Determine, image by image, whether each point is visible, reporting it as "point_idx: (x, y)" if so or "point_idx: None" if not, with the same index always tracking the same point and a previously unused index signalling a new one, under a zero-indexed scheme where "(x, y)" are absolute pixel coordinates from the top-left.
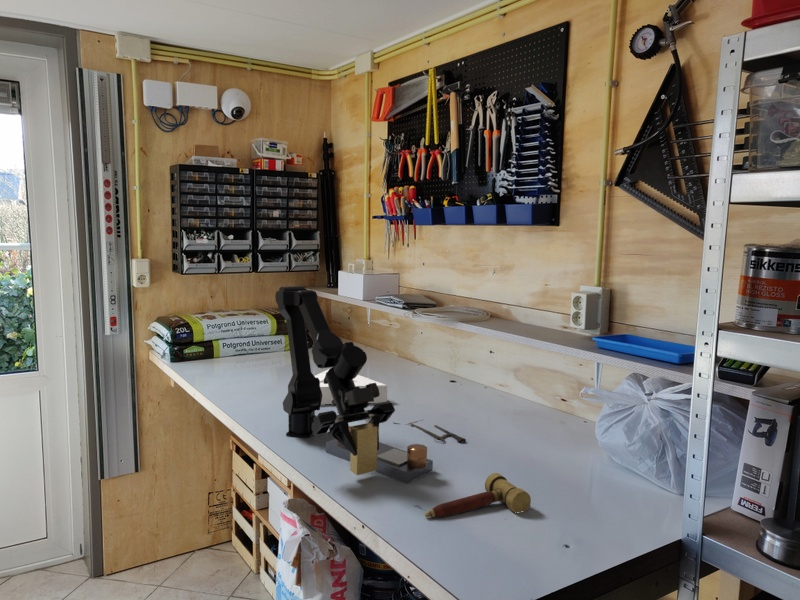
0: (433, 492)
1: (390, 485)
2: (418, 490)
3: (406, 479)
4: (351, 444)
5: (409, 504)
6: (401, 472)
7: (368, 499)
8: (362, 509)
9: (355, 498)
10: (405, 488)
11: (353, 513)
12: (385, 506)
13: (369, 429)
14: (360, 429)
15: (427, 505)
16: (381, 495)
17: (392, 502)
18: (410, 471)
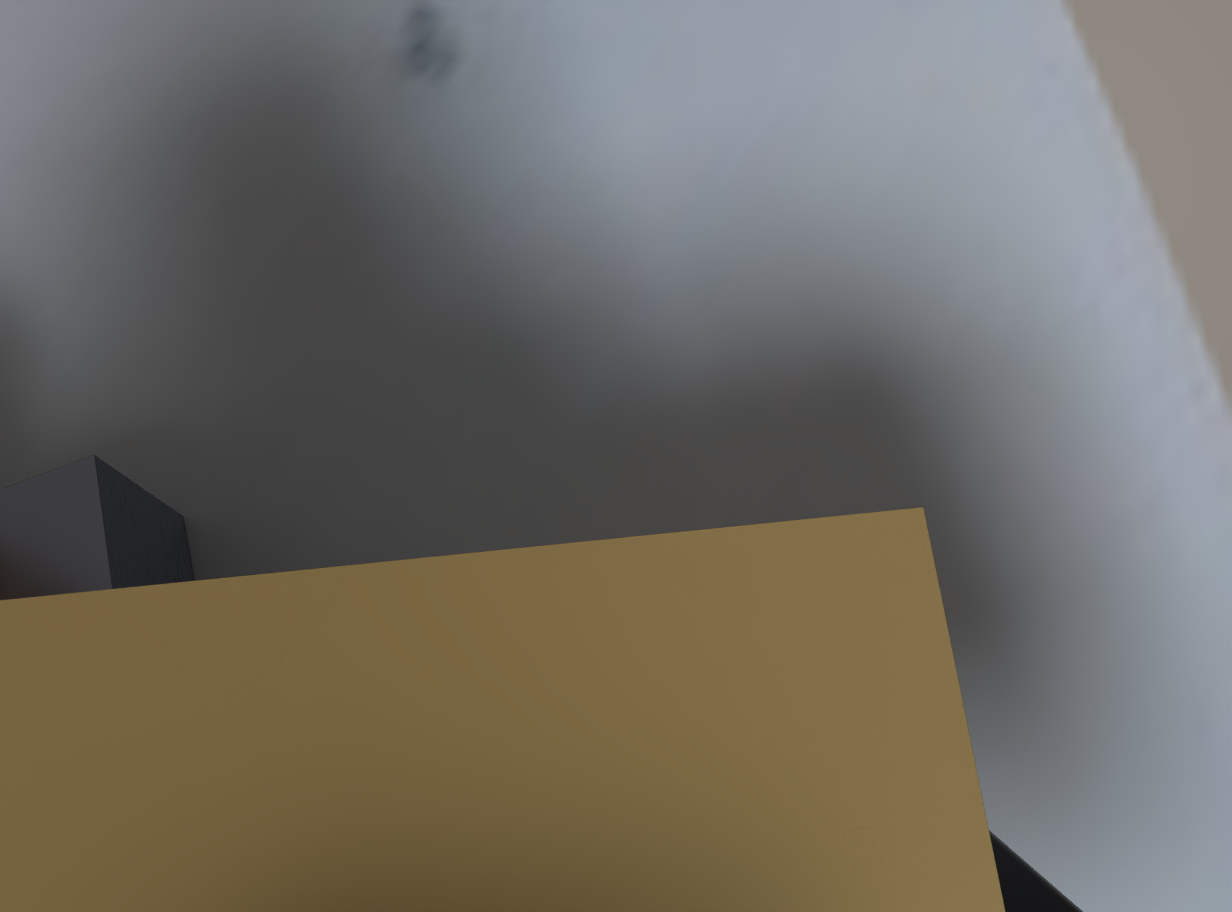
0: (104, 223)
1: (390, 557)
2: (197, 314)
3: (156, 510)
4: (1030, 881)
5: (473, 96)
6: (129, 563)
7: (825, 327)
8: (980, 155)
9: (974, 406)
10: (284, 410)
11: (1107, 114)
12: (715, 134)
13: (42, 633)
14: (620, 646)
15: (338, 34)
16: (634, 359)
17: (605, 181)
18: (26, 488)
